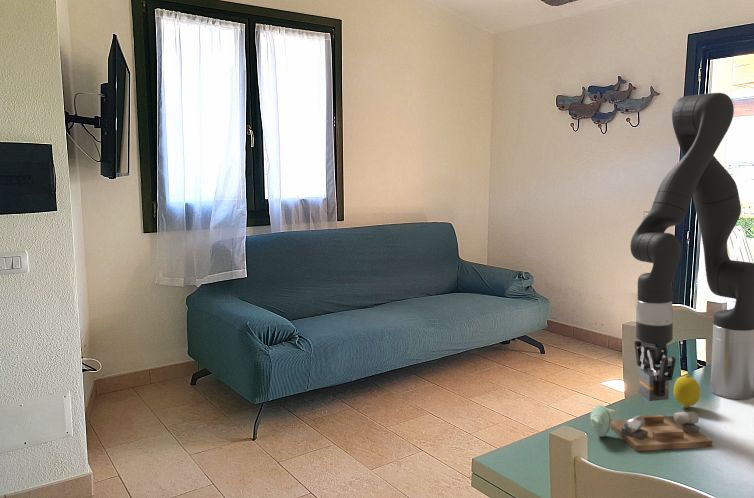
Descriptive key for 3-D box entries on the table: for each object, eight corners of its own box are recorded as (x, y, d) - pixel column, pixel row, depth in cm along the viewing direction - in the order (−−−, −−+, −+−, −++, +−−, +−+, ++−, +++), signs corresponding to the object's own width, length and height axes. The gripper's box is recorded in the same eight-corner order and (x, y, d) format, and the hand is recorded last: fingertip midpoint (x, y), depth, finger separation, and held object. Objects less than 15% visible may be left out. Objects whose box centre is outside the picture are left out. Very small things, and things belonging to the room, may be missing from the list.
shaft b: (629, 428, 126) (629, 412, 125) (649, 435, 122) (650, 419, 122) (619, 434, 123) (619, 418, 123) (639, 441, 120) (640, 424, 120)
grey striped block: (658, 391, 137) (658, 367, 136) (669, 399, 133) (669, 374, 132) (639, 393, 137) (639, 368, 136) (649, 401, 133) (649, 375, 132)
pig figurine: (600, 445, 122) (600, 414, 121) (581, 438, 125) (582, 408, 124) (618, 433, 127) (619, 403, 126) (600, 427, 130) (601, 398, 129)
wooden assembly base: (678, 421, 131) (679, 401, 131) (712, 446, 119) (713, 424, 119) (608, 425, 130) (609, 405, 130) (635, 451, 119) (636, 428, 118)
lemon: (702, 413, 135) (704, 379, 134) (676, 411, 137) (678, 378, 135) (694, 403, 141) (696, 371, 140) (670, 402, 142) (671, 370, 141)
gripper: (688, 326, 125) (687, 402, 128) (653, 310, 140) (653, 378, 142) (654, 329, 125) (653, 405, 128) (623, 312, 139) (622, 381, 142)
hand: (653, 391), depth 135 cm, fingers closed on grey striped block, 4 cm apart
